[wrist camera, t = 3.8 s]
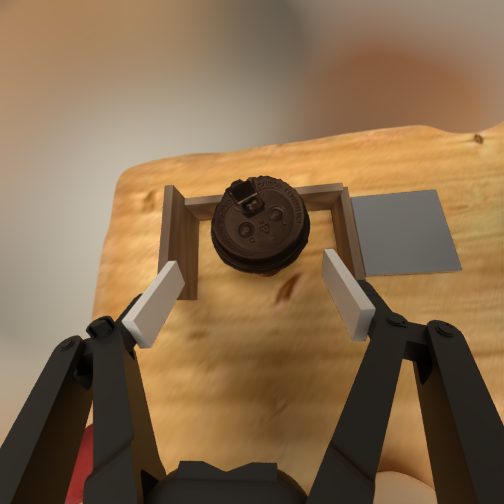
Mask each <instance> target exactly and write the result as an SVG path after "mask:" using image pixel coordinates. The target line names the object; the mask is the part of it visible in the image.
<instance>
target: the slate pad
mask: <svg viewBox="0 0 504 504" xmlns="http://www.w3.org/2000/svg"><path fill="white" fill-rule="evenodd" d="M350 202H351V207H352V212H353V218H354V223H355V228H356V233H357V238H358V243H359V248H360V253H361V259H362V264H363V269H364V274H365V276H382V275H401V274H420V273H438V272H455V271H461V270H462V268H461V265H460V262H459V258H458V255H457V252H456V249H455V246H454V243H453V240H452V237H451V234H450V231H449V228H448V225H447V222H446V219H445V216H444V213H443V210H442V207H441V204H440V201H439V198H438V195H437V192H436V190H425V191H414V192H403V193H392V194H381V195H370V196H359V197H351V198H350Z"/></svg>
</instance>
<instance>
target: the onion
mask: <svg viewBox="0 0 504 504" xmlns="http://www.w3.org/2000/svg"><path fill="white" fill-rule="evenodd" d="M92 470H93V424H91V425H89V426H88V427H87V428H85V431H84V434H83V438H82V442H81V445H80V449H79V453H78V456H77V460H76V464H75V467H74V471H73V475H72V478H71V482H70V486H69V489H68V493H67V497H66V501H65V504H79V503H81V502H83V489H84V483H85V480H86V478H87V477H88V476H89V475H90V474H91V472H92Z"/></svg>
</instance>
